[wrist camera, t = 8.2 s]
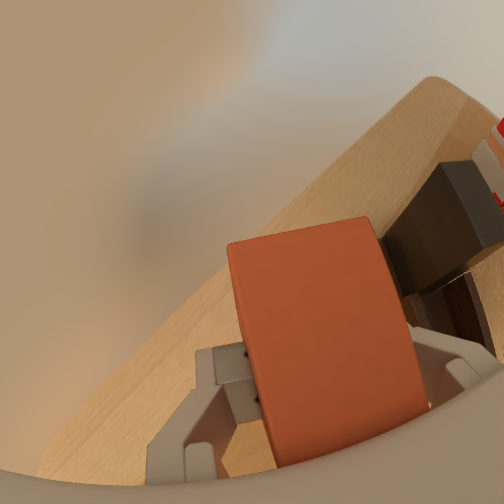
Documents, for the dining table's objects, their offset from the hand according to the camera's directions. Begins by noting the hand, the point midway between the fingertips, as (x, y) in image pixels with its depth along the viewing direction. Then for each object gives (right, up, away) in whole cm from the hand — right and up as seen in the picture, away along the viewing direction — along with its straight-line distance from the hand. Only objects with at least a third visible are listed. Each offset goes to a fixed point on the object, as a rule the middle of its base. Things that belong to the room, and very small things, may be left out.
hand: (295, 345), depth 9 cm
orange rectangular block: (0, -3, +4) cm, 5 cm away
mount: (+11, -1, +11) cm, 16 cm away
